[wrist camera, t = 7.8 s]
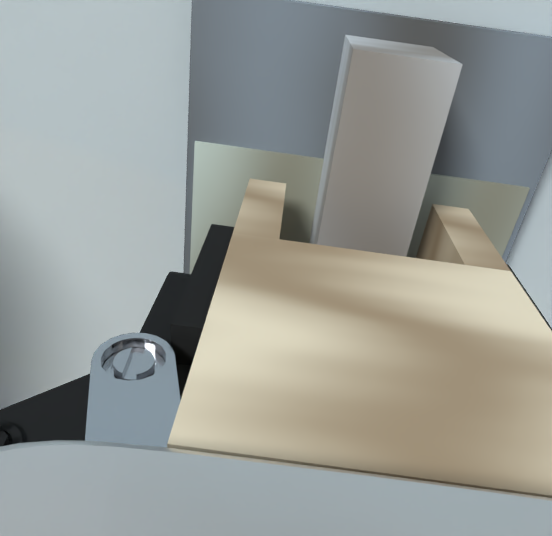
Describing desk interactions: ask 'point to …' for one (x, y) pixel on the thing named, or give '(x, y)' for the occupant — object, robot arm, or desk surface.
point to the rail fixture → (362, 122)
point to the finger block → (373, 357)
